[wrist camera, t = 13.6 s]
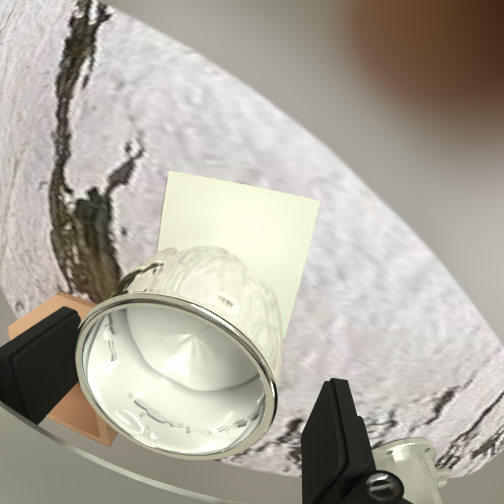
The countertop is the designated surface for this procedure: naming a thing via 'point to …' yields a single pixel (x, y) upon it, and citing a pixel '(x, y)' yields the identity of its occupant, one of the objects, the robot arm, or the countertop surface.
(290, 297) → the plain cream tile
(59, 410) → the open box
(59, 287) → the countertop surface
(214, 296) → the beer glass
